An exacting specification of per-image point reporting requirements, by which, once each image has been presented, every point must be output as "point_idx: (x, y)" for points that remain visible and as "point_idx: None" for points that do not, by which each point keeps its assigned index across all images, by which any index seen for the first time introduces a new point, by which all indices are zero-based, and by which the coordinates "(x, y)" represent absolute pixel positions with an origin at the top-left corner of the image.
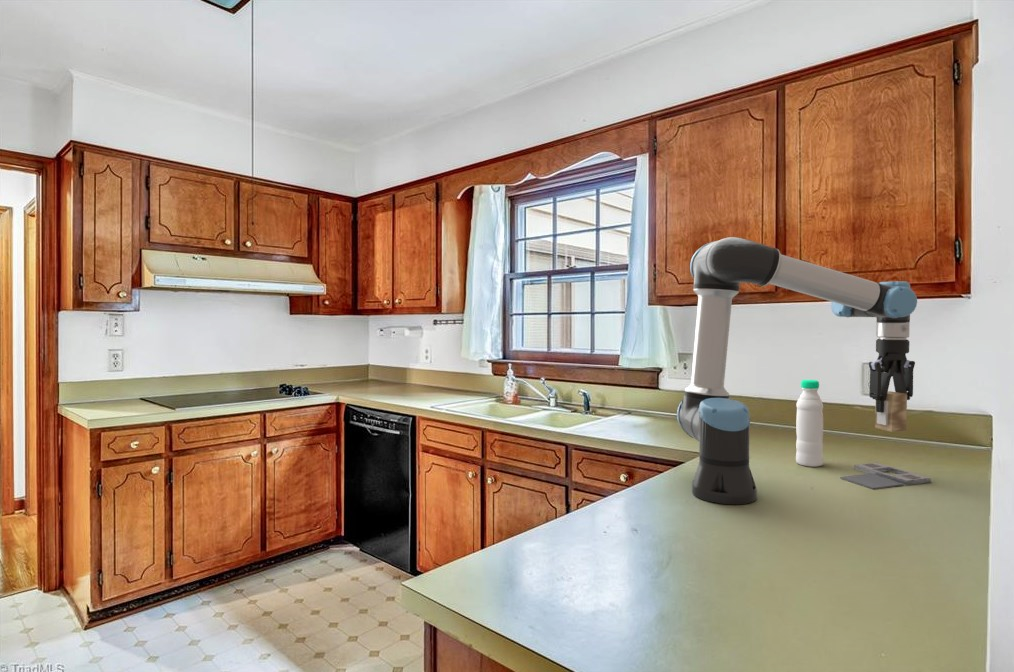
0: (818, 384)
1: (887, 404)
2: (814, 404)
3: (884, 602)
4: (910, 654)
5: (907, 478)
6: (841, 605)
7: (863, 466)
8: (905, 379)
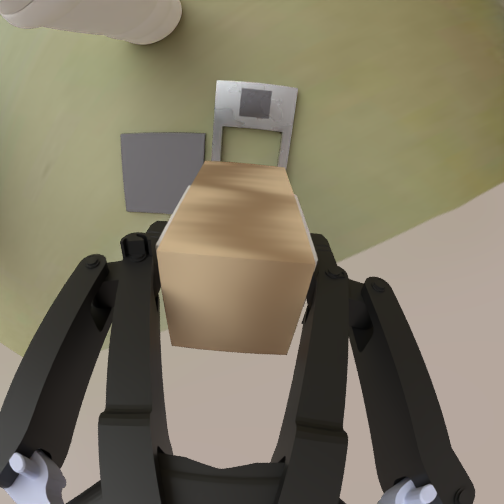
0: None
1: None
2: (17, 25)
3: (24, 341)
4: (23, 356)
5: None
6: (9, 333)
7: (224, 101)
8: (380, 395)
